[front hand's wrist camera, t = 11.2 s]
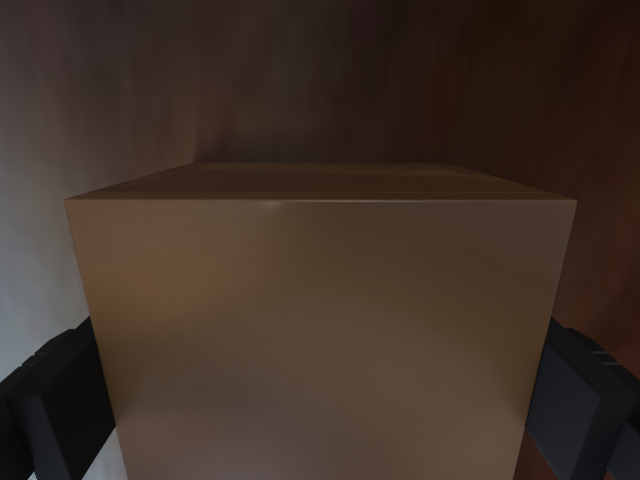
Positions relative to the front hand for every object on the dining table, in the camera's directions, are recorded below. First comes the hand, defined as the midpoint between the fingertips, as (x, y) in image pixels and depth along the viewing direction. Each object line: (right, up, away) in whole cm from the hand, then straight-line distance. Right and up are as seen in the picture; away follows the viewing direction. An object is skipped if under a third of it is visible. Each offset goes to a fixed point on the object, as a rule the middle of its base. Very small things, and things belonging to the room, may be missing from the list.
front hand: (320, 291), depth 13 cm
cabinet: (0, -4, +4) cm, 6 cm away
